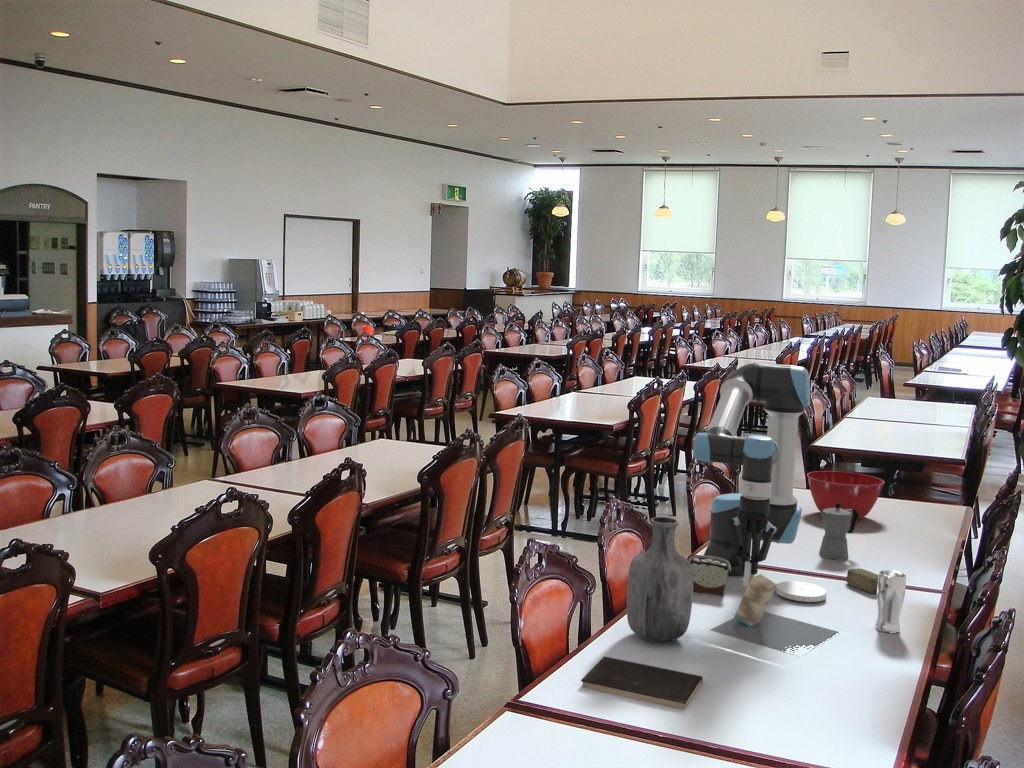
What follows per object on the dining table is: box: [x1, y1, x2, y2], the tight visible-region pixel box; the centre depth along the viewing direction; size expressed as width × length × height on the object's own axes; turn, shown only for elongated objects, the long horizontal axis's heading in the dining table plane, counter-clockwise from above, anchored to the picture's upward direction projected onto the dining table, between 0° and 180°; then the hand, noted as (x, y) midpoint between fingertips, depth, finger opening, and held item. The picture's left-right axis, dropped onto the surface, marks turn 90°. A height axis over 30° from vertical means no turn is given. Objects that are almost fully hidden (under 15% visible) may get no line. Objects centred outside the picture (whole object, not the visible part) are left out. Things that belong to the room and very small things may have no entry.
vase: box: [626, 516, 694, 643], centre depth 251 cm, size 16×16×30 cm
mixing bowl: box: [806, 470, 885, 521], centre depth 393 cm, size 28×28×15 cm
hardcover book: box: [580, 656, 703, 710], centre depth 224 cm, size 16×23×2 cm
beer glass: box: [874, 569, 907, 633], centre depth 267 cm, size 7×7×15 cm
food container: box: [688, 554, 731, 597], centre depth 291 cm, size 12×6×10 cm, turn 65°
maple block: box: [733, 574, 778, 627], centre depth 264 cm, size 5×5×12 cm
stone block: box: [845, 567, 879, 595], centre depth 302 cm, size 6×12×5 cm, turn 26°
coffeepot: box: [818, 503, 859, 560], centre depth 336 cm, size 15×9×18 cm, turn 113°
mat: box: [710, 611, 839, 653], centre depth 261 cm, size 24×24×1 cm
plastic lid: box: [775, 580, 828, 603], centre depth 292 cm, size 14×14×2 cm
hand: (748, 585), depth 265 cm, fingers closed
